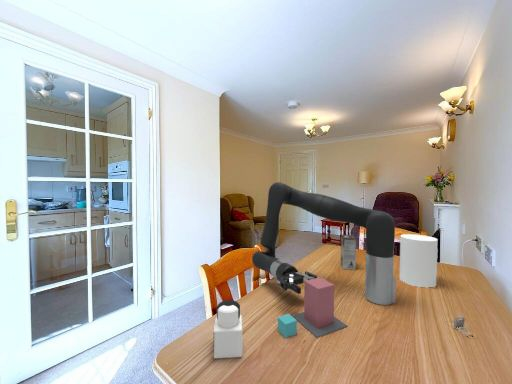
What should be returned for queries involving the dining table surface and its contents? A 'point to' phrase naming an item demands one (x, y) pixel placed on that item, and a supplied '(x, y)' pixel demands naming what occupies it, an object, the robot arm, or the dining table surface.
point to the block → (287, 325)
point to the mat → (323, 330)
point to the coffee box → (348, 251)
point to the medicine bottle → (228, 330)
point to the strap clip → (460, 324)
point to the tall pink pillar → (319, 302)
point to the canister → (418, 260)
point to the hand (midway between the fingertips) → (310, 288)
